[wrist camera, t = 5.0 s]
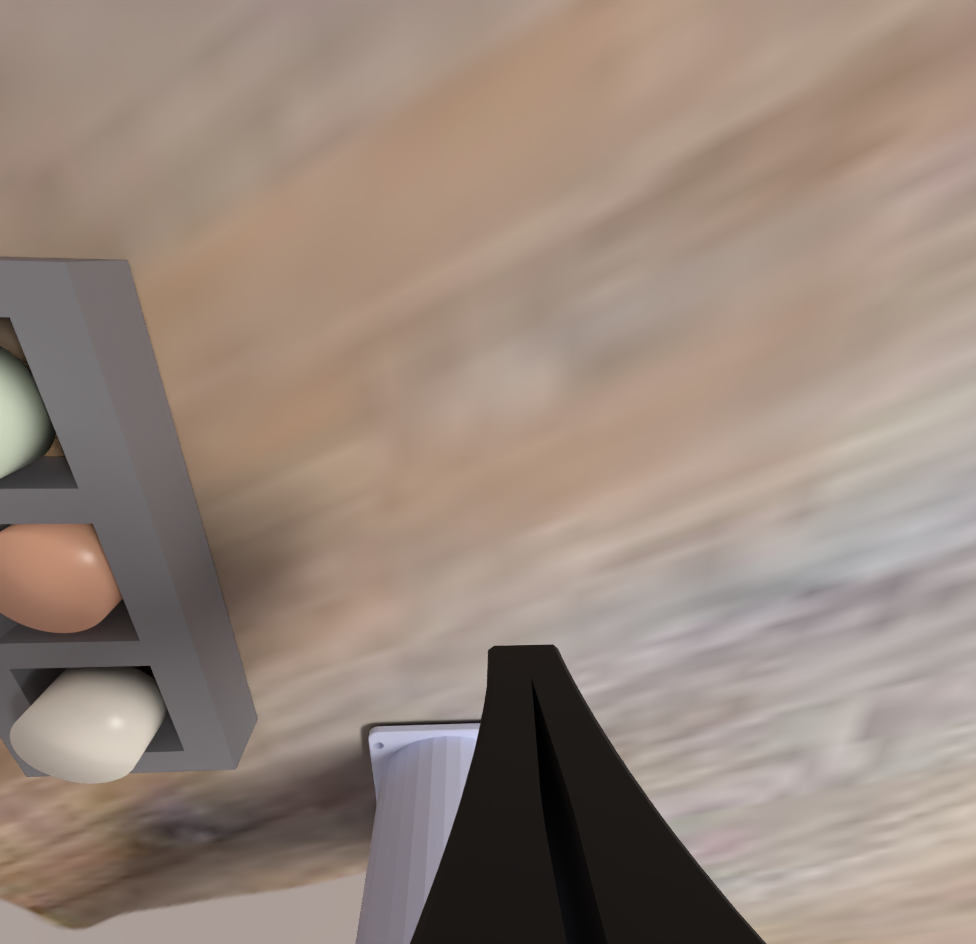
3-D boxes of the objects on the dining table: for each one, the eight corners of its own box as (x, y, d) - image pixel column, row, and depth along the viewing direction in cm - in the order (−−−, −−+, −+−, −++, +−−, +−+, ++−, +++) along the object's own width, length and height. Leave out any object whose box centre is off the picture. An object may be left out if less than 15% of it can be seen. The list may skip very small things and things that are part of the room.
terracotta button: (161, 592, 19) (126, 631, 17) (50, 594, 19) (2, 634, 17) (128, 500, 17) (85, 533, 15) (4, 501, 17) (-55, 534, 15)
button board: (257, 719, 23) (235, 769, 21) (69, 724, 23) (26, 776, 20) (127, 260, 14) (64, 261, 12) (-191, 251, 14) (-320, 252, 11)
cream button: (181, 730, 21) (151, 781, 19) (78, 733, 20) (37, 785, 18) (153, 659, 19) (116, 707, 17) (39, 661, 19) (-12, 710, 17)
